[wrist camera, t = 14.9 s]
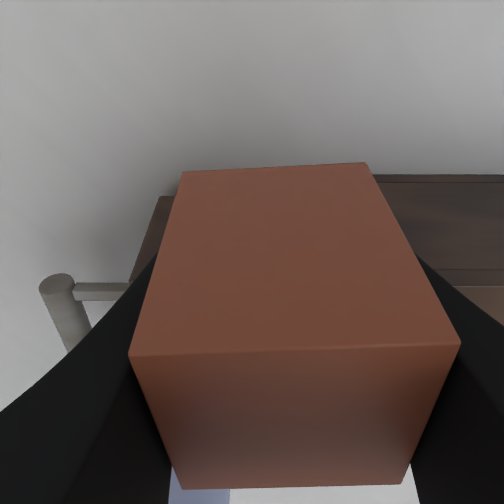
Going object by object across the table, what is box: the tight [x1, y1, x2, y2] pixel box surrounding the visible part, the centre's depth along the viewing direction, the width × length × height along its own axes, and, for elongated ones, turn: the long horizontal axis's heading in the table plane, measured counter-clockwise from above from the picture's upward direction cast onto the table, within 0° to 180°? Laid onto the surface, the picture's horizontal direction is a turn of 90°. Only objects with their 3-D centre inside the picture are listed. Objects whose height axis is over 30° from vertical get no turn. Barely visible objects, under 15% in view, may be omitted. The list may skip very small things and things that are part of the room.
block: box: [128, 162, 461, 490], centre depth 9 cm, size 4×4×6 cm
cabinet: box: [373, 175, 504, 326], centre depth 19 cm, size 14×12×8 cm
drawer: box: [39, 196, 175, 353], centre depth 19 cm, size 18×11×6 cm, turn 90°
